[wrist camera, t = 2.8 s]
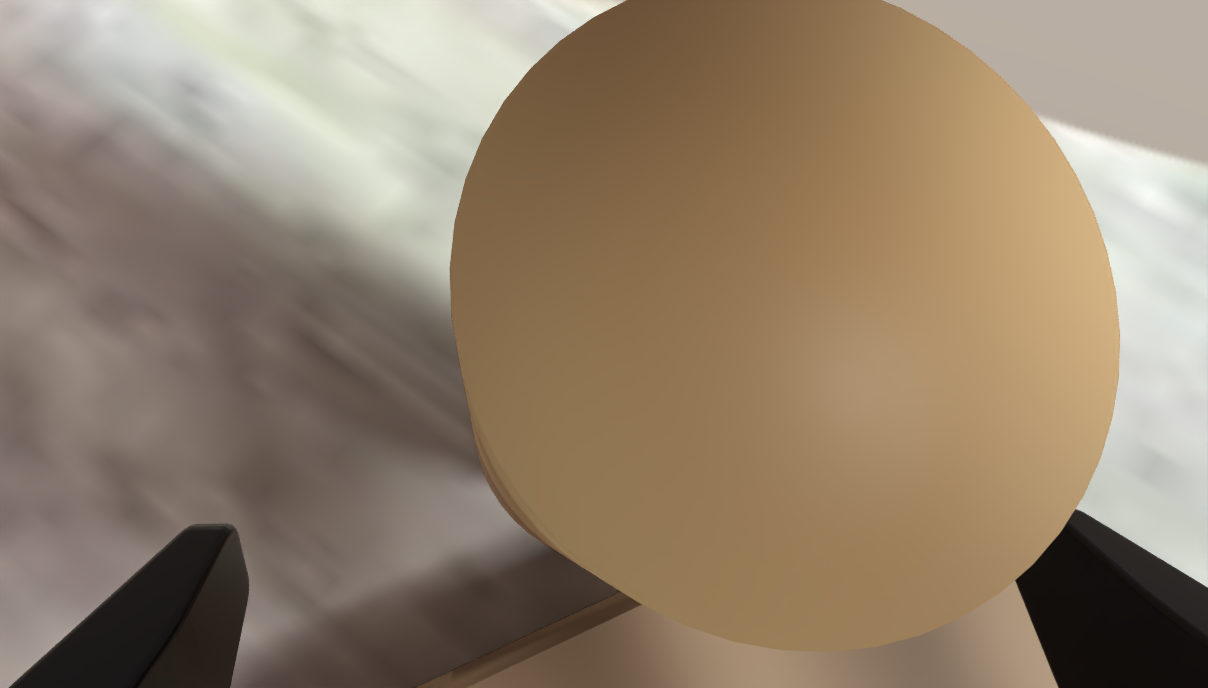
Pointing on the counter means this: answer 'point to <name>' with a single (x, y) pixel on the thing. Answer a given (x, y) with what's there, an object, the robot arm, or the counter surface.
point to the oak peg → (782, 318)
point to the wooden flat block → (758, 655)
